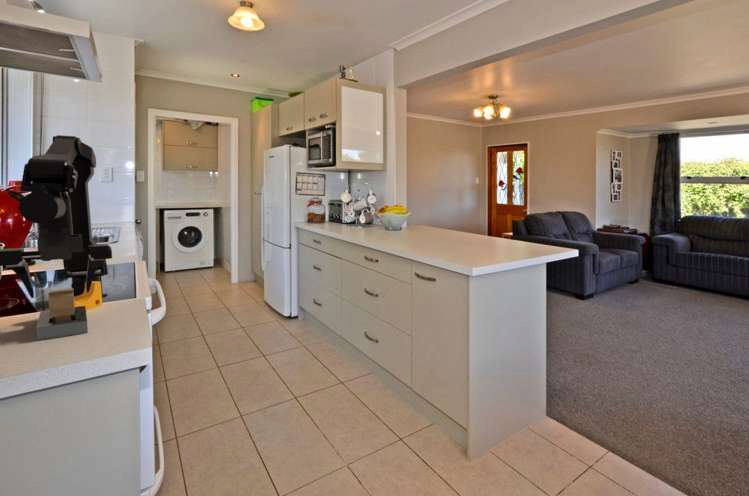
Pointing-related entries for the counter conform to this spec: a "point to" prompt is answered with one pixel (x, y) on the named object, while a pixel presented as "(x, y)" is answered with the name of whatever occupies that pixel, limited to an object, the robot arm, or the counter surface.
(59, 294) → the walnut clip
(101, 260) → the robot arm
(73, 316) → the rail plate
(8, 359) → the counter surface
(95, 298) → the pipe clamp
